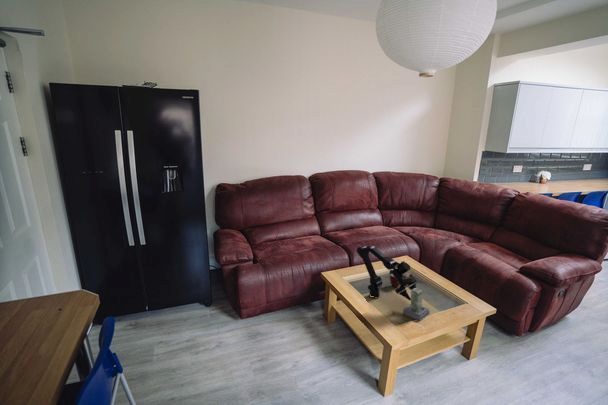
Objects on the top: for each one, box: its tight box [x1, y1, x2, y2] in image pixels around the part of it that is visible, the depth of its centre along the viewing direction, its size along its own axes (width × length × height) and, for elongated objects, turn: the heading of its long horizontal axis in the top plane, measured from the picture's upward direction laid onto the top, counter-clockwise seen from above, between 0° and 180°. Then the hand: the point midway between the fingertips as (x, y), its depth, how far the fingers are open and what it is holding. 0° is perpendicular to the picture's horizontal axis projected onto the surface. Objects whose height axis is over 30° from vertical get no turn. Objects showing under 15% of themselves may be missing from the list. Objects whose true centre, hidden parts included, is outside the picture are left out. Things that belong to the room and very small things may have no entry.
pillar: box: [410, 287, 423, 313], centre depth 189 cm, size 5×5×14 cm
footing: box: [402, 303, 431, 322], centre depth 190 cm, size 12×12×4 cm
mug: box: [389, 274, 400, 289], centre depth 228 cm, size 10×8×10 cm
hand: (414, 297), depth 190 cm, fingers open, 9 cm apart
